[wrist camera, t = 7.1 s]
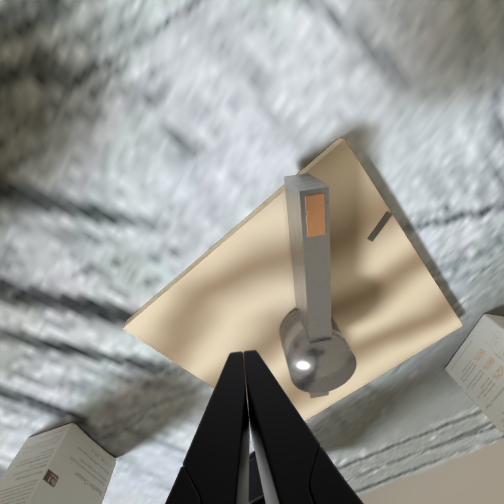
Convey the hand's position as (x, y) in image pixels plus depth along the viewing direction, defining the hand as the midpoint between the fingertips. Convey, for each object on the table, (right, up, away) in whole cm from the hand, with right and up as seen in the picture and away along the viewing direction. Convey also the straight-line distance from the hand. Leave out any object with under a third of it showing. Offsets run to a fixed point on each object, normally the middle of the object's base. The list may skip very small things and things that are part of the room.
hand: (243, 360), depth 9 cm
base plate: (+5, -3, +17) cm, 18 cm away
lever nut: (+5, 0, +14) cm, 14 cm away
